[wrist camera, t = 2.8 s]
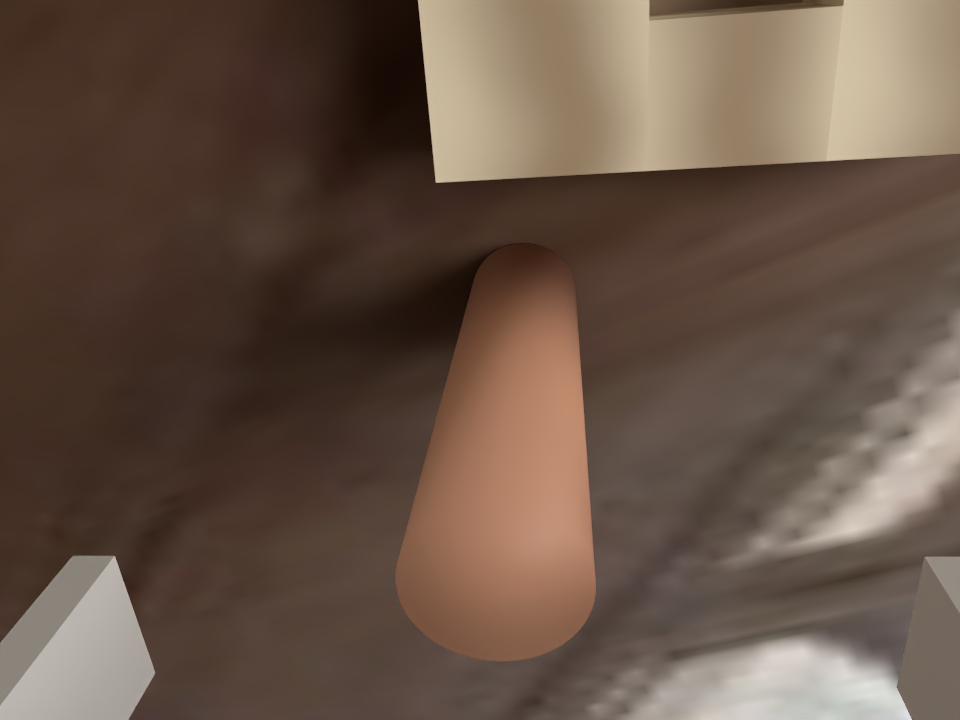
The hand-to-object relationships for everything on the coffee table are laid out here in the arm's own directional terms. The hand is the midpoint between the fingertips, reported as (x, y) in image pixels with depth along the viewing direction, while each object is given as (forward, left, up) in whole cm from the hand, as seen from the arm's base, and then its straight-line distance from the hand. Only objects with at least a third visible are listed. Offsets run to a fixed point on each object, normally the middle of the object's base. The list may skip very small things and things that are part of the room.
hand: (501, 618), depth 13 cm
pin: (0, 0, -16) cm, 16 cm away
